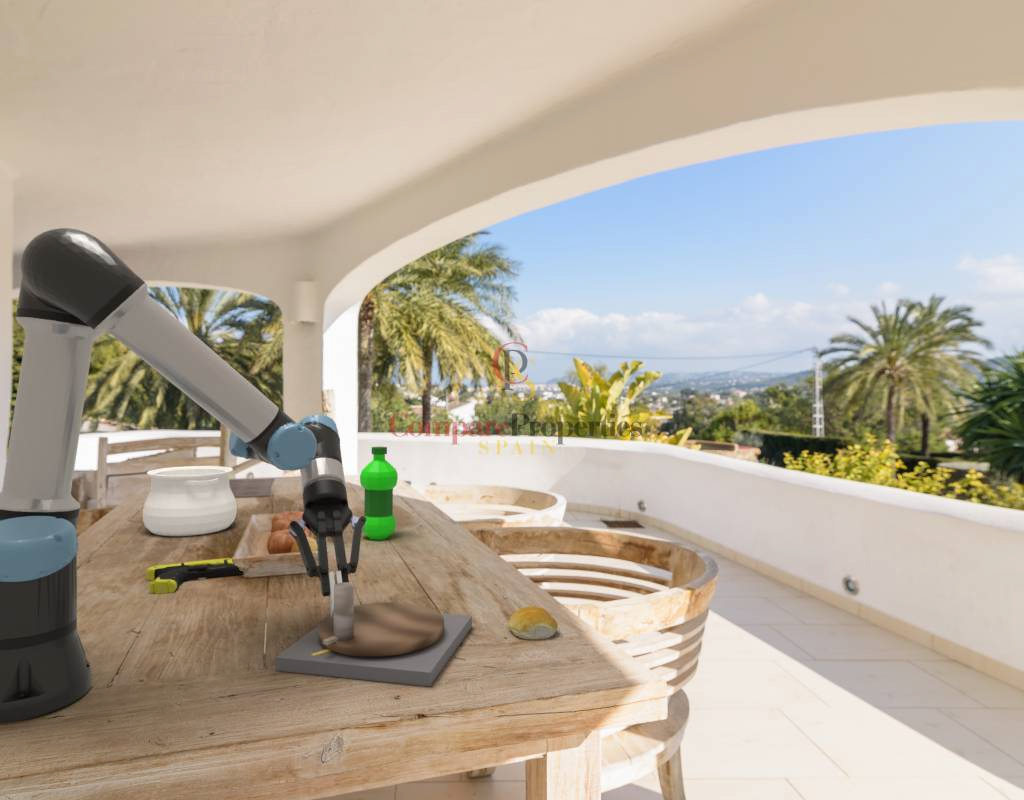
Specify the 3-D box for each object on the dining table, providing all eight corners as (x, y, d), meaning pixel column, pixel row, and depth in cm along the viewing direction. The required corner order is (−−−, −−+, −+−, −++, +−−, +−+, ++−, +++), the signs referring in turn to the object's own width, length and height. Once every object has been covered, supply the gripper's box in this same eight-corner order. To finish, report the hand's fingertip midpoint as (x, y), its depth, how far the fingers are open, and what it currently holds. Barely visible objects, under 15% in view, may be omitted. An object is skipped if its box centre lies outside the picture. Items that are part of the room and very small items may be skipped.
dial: (384, 603, 123) (385, 551, 123) (468, 627, 112) (469, 571, 111) (284, 638, 106) (284, 578, 106) (371, 671, 94) (371, 604, 94)
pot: (132, 527, 195) (132, 469, 194) (219, 516, 211) (219, 463, 211) (156, 543, 176) (156, 479, 175) (250, 530, 192) (250, 472, 192)
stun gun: (248, 572, 142) (241, 555, 155) (145, 583, 133) (147, 564, 147) (248, 586, 142) (241, 568, 156) (145, 598, 133) (146, 577, 147)
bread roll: (547, 621, 123) (547, 599, 123) (562, 639, 114) (562, 616, 114) (503, 624, 121) (503, 602, 121) (514, 642, 113) (515, 619, 112)
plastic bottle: (390, 542, 180) (391, 449, 179) (353, 540, 182) (354, 448, 181) (402, 534, 190) (403, 446, 189) (367, 532, 192) (367, 445, 191)
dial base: (430, 686, 95) (430, 671, 95) (275, 670, 100) (275, 655, 100) (471, 626, 119) (472, 614, 119) (345, 616, 124) (345, 604, 124)
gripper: (359, 499, 125) (377, 618, 110) (283, 504, 120) (291, 629, 105) (365, 475, 120) (384, 596, 105) (285, 478, 115) (294, 606, 100)
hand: (338, 612), depth 105 cm, fingers closed
